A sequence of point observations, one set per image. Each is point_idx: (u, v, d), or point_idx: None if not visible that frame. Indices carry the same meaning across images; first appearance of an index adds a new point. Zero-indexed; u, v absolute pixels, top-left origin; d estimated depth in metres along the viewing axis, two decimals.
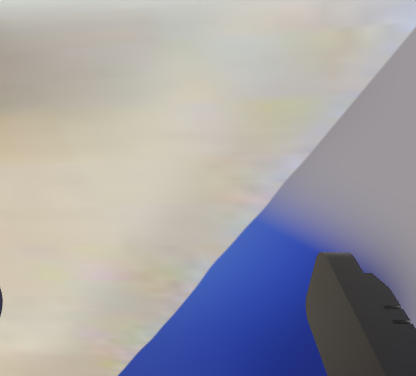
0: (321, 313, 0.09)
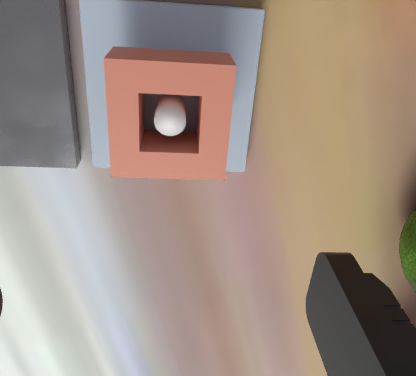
0: (321, 313, 0.09)
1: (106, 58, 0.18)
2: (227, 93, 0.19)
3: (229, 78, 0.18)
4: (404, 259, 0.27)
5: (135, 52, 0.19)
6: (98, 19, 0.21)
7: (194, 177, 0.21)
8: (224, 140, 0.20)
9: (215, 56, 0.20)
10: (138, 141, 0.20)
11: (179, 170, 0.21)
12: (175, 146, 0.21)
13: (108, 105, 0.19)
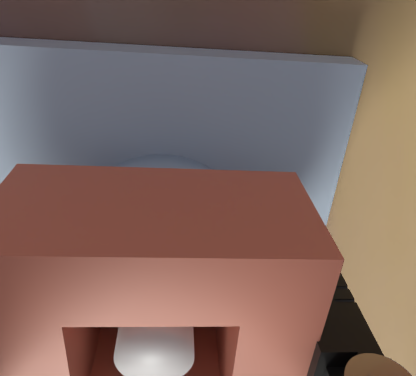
0: None
1: None
2: (309, 319, 0.07)
3: (319, 287, 0.06)
4: None
5: (62, 195, 0.07)
6: None
7: None
8: None
9: (269, 198, 0.08)
10: None
11: None
12: None
13: None
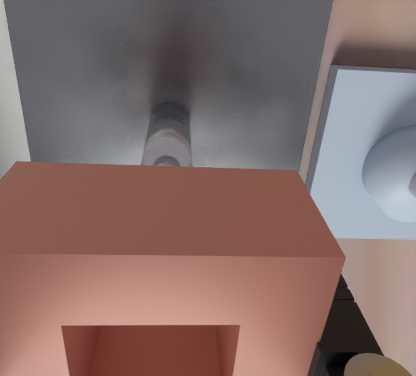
0: None
1: None
2: (310, 317, 0.07)
3: (320, 285, 0.06)
4: None
5: (61, 193, 0.07)
6: (351, 91, 0.19)
7: None
8: None
9: (270, 196, 0.08)
10: None
11: None
12: None
13: None
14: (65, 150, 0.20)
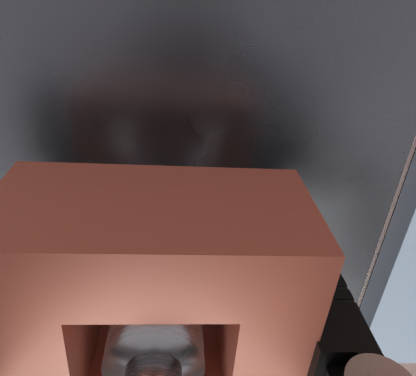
0: None
1: None
2: (310, 316, 0.07)
3: (320, 284, 0.06)
4: None
5: (61, 193, 0.07)
6: None
7: None
8: None
9: (270, 195, 0.08)
10: None
11: None
12: None
13: None
14: None
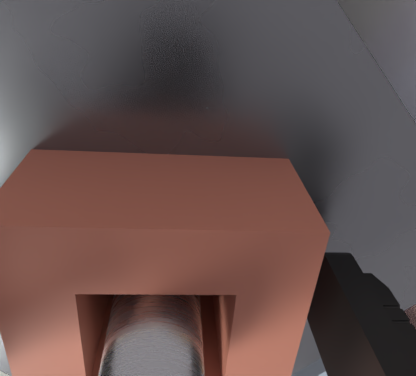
0: (320, 313, 0.09)
1: None
2: (299, 288, 0.07)
3: (308, 258, 0.07)
4: None
5: (74, 177, 0.08)
6: None
7: None
8: (282, 368, 0.09)
9: (264, 180, 0.08)
10: None
11: None
12: None
13: (1, 320, 0.07)
14: None
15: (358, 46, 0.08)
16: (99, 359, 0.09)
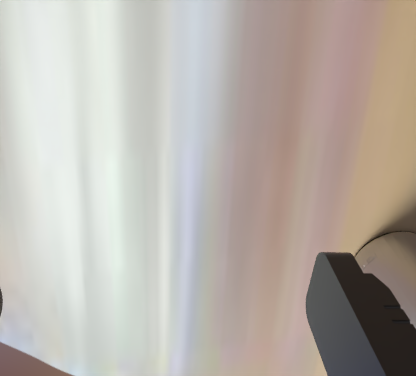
0: (321, 313, 0.09)
1: None
2: None
3: None
4: None
5: None
6: None
7: None
8: None
9: None
10: None
11: None
12: None
13: None
14: None
15: None
16: None
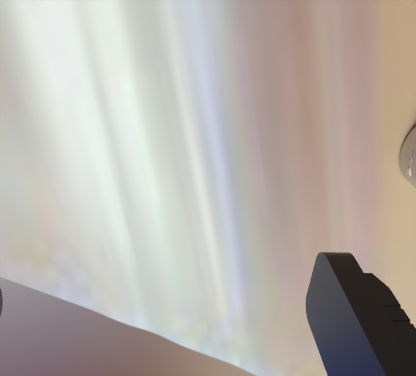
0: (321, 313, 0.09)
1: None
2: None
3: None
4: None
5: None
6: None
7: None
8: None
9: None
10: None
11: None
12: None
13: None
14: None
15: None
16: None
